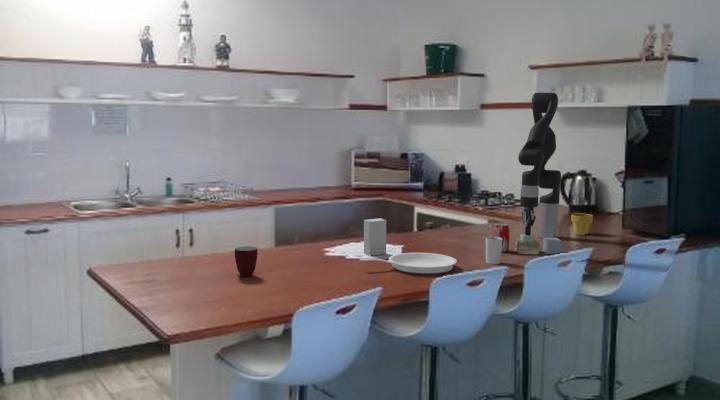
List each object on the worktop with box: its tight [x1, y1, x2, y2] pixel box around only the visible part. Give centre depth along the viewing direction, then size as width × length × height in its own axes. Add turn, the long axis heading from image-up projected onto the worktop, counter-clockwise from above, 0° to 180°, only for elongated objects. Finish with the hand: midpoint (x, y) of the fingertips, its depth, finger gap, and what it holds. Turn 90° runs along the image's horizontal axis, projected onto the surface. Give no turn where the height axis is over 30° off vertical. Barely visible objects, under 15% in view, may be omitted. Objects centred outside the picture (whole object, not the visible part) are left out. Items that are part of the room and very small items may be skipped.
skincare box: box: [363, 217, 387, 256], centre depth 278 cm, size 8×6×15 cm
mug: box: [234, 245, 258, 278], centre depth 239 cm, size 11×8×10 cm
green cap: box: [519, 233, 536, 242], centre depth 287 cm, size 5×5×5 cm
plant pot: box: [570, 212, 594, 236], centre depth 336 cm, size 10×10×10 cm
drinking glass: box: [485, 236, 502, 265], centre depth 265 cm, size 7×7×10 cm
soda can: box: [492, 222, 511, 253], centre depth 289 cm, size 7×7×12 cm
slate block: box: [542, 237, 562, 255], centre depth 288 cm, size 6×6×6 cm
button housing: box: [514, 238, 540, 255], centre depth 287 cm, size 8×8×5 cm
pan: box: [359, 252, 458, 275], centre depth 253 cm, size 26×39×5 cm
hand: (527, 234), depth 287 cm, fingers closed
